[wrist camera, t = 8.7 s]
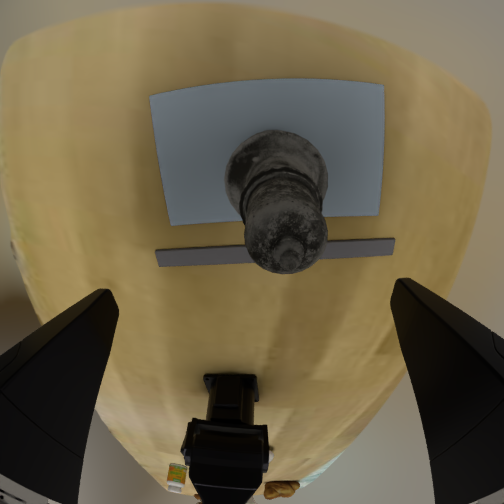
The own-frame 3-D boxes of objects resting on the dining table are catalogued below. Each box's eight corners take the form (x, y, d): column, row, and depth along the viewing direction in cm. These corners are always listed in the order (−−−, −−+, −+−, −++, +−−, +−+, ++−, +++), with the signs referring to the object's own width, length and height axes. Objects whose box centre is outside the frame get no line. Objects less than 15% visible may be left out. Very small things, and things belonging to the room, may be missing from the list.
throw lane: (391, 253, 22) (392, 255, 21) (160, 264, 23) (158, 267, 22) (405, 88, 15) (407, 88, 14) (126, 102, 16) (124, 102, 15)
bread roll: (301, 478, 68) (302, 497, 61) (297, 483, 73) (297, 500, 66) (264, 480, 68) (263, 499, 61) (263, 484, 73) (262, 501, 66)
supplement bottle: (184, 464, 60) (180, 491, 51) (189, 468, 63) (185, 494, 54) (167, 462, 60) (162, 488, 52) (172, 466, 63) (168, 491, 54)
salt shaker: (321, 200, 19) (380, 321, 9) (241, 213, 20) (219, 345, 10) (309, 119, 16) (388, 151, 6) (221, 135, 17) (159, 190, 7)
